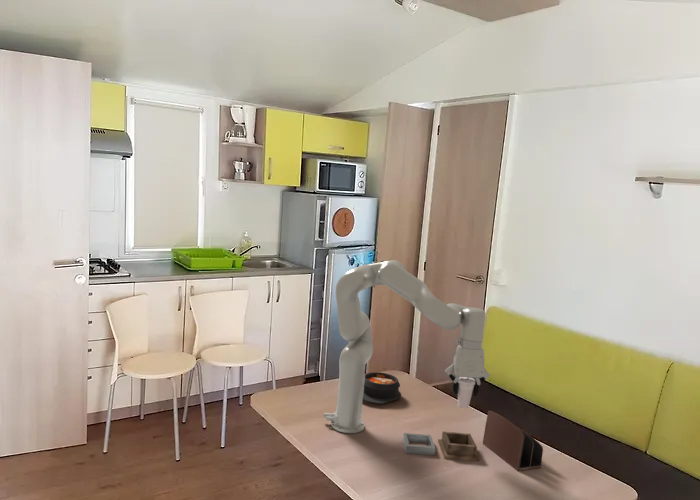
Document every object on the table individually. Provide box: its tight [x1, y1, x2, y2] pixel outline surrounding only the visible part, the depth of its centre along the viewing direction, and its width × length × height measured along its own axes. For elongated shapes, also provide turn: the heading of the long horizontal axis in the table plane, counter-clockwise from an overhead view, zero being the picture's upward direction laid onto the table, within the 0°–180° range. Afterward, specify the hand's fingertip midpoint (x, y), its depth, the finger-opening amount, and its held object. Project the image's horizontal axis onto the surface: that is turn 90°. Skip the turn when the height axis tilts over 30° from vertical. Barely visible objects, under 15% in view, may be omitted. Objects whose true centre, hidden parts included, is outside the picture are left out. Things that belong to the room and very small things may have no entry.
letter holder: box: [482, 410, 544, 472], centre depth 190 cm, size 10×20×14 cm, turn 22°
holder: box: [402, 432, 436, 456], centre depth 190 cm, size 10×10×2 cm
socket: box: [437, 431, 480, 462], centre depth 190 cm, size 12×12×4 cm
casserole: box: [363, 371, 402, 405], centre depth 233 cm, size 25×19×8 cm
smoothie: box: [457, 377, 476, 409], centre depth 187 cm, size 6×6×14 cm
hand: (464, 393), depth 187 cm, fingers closed on smoothie, 6 cm apart
